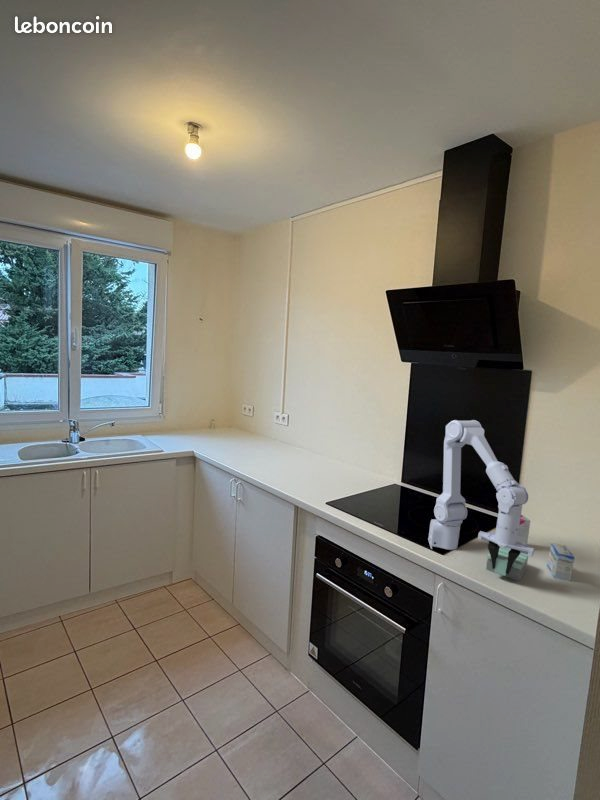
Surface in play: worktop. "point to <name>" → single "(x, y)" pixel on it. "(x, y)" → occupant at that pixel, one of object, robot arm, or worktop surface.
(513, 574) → the tub
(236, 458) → the worktop surface
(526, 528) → the supplement box
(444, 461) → the robot arm
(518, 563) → the lid
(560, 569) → the medicine box
